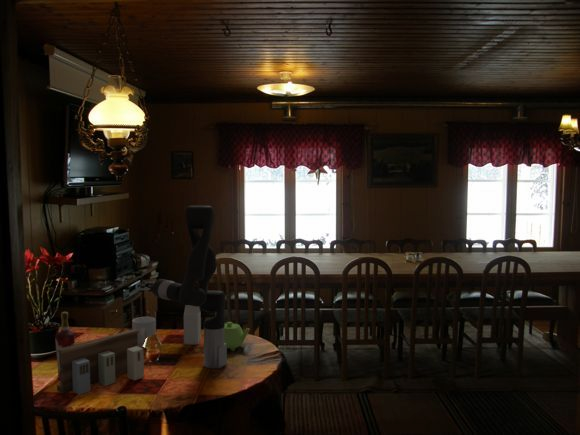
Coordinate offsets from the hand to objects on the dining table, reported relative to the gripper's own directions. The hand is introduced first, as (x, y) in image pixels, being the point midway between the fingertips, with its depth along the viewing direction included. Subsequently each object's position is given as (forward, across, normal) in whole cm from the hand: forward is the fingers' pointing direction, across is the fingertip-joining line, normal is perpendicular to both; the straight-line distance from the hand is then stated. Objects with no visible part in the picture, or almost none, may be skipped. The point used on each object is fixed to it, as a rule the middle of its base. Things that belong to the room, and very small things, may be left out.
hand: (142, 283), depth 201 cm
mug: (+28, -18, +38) cm, 50 cm away
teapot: (-6, -44, +38) cm, 59 cm away
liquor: (+16, +26, +38) cm, 49 cm away
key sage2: (+1, +16, +38) cm, 41 cm away
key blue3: (+1, +27, +38) cm, 47 cm away
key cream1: (-3, +6, +38) cm, 39 cm away
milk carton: (+14, -37, +38) cm, 55 cm away
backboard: (+6, +17, +38) cm, 42 cm away
